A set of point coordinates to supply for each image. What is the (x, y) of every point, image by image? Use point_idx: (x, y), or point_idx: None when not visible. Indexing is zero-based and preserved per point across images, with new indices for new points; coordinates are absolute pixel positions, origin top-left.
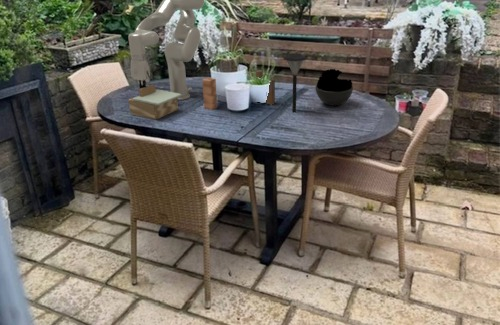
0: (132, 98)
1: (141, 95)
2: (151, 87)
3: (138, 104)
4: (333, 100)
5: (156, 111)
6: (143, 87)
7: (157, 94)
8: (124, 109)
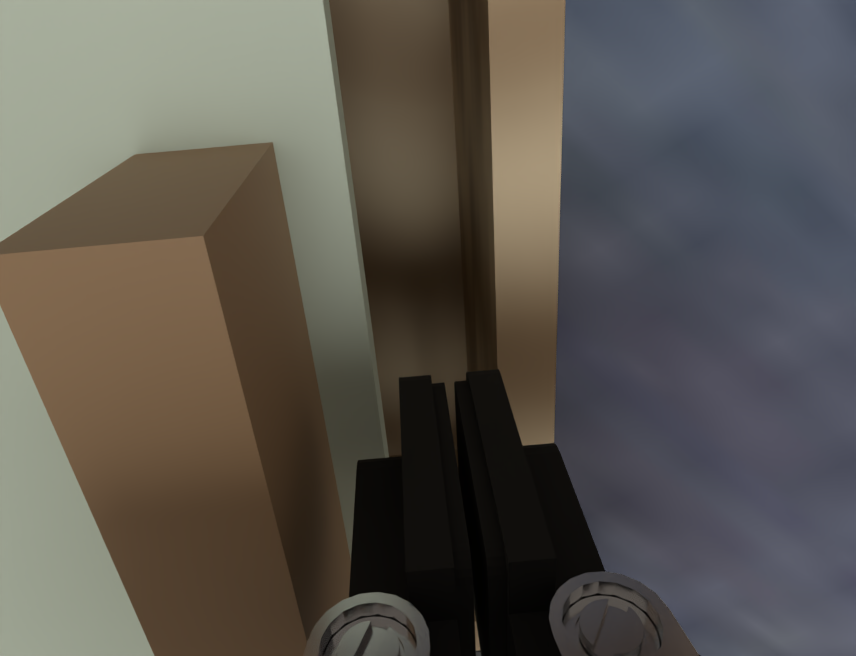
0: (538, 3)
1: (160, 163)
2: None
3: None
4: None
5: None
6: (264, 513)
7: (35, 535)
8: (799, 16)
